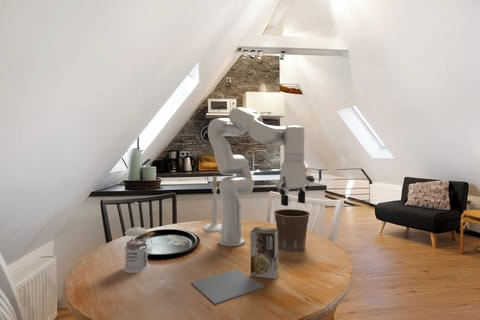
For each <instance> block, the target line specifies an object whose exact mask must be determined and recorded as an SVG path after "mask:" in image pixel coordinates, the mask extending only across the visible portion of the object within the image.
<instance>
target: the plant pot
mask: <svg viewBox="0 0 480 320" xmlns="http://www.w3.org/2000/svg"><path fill="white" fill-rule="evenodd" d="M273 214H274V221H275V223H276V224H275V225H276V229H278V249H280V250H282V251H285V252H296V251H297V252H301V251H304V250H305V248H306V240H307V230H308V224H309V218H310V215H311V212H309V211H306V210H302V209H293V208H292V209H291V208H289V209H288V208H286V209H285V208H284V209H283V208H282V209H277V210H274V211H273Z"/></svg>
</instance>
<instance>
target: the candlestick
mask: <svg viewBox="0 0 480 320" xmlns="http://www.w3.org/2000/svg"><path fill="white" fill-rule="evenodd" d="M217 178H218V177H217V176H216V175H213V176H212V187H211V190H212V192H213V194H212V205H211V206H212V208H211V211H212V212H211V223H208V224H205V225H204V227H203V231H204V230H205V231H204V232H207V231H208V233H220V232H221V231H222V223H219V217H218V216H219V215H218V199H217V198H218V197H217V196H218V194H217V192H218V189H219V188H218V187H217Z"/></svg>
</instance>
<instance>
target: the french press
mask: <svg viewBox="0 0 480 320" xmlns="http://www.w3.org/2000/svg"><path fill="white" fill-rule="evenodd" d="M132 206H135V207H134V208H135V209H137V206H139V202H137V201H135V202H133V204H132ZM147 232H148V230H147V229H146V228H144V227H140V226H134V227H131V228H129V229H127V230H125V232H124V234H125V236H129V237H135V239H132V240H129V241H126V244H125V245H126V246H125V249H124V250H125V251H124V253H125V265H124V266H123V268H122V271H123V272H125V273H128V274H135V273H136V274H138V273H141V272H144V271H146V270H149V269H150V266H151V265H150V263H149V262H148V256H149V255H150V254H151V253H152V251H153V248H151V249H150V248H148V245H150V243H151V245H153V242H152V239H151V238H150V236H149V235H146V236H144V235H145V234H147ZM142 235H143V237H142V239H140V238H138V237H137V236H142ZM148 239H149V241H150V243H149V241H148Z"/></svg>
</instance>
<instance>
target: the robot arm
mask: <svg viewBox="0 0 480 320" xmlns="http://www.w3.org/2000/svg"><path fill="white" fill-rule="evenodd" d="M246 132H247V133H248V135H249V137H250V138H251V139H253V140H254V141H256V142H258V143H260V144H262V145H265V146H283V162H282V163H281V166H280V175H279V180H278V181H277V183H276V184H275V187H276V189H277V191H278V192H279V194H280V195H281V197H280V204H281V206H285V207H288V206H289V195H288V194H289V191H290V190H295V189H297V190H298V193H297V202H298V203H300V204H303V205H304V204H306V194H307V190H308V189H309V185H310V184H311V181H310V180H308V179H307V172H306V171H307V170H306V163H305V158H306V157H305V128H304V127H303V126H301V125H288V126H277V125H268V124H265V123H264V120H263V118H262V117H261V115H259V114H258V112H257V111H256V110H254V109H253V108H245V107H235V108H233V109H231V110H230V111H229V113H228V118H225V117H223V118H222V117H218V118H213V119H212V120H210V122H209V124H208V126H207V135H208V140H209V143H210V145H211V147H212V150H213V154H214V159H215V162H216V167H217V169H218V170H217V171H218V172H219V173H220V174H221V175H223V176H224V175H225V176H226V177H224V178H222V179H221V180H220V182H219V185H218V187H219V188H218V189H219V193H220V194H219V195H220V201H221V208H220V209H221V224H222V231H221V232H219V235H220V238H219V239H218V241H217V242H218V244H219V245H220V246H224V247H238V246H239V247H240V246H242V245H244V244H245V243H246V241H245V238H244V237H242V203H241V201H240V199H239V196H245V195H249V194H251V193H252V192H253V189H254V180H253V176H252V173H251V169H250V166H249V162H248V159H247V158H246V157H245V156H243V155H241V154H234V153H233V152H232V148H231V144H230V143H229V141H228V140H227V139H226V138H225V137H239V136H242V135H243V134H245V133H246ZM228 175H232V176H228Z"/></svg>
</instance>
